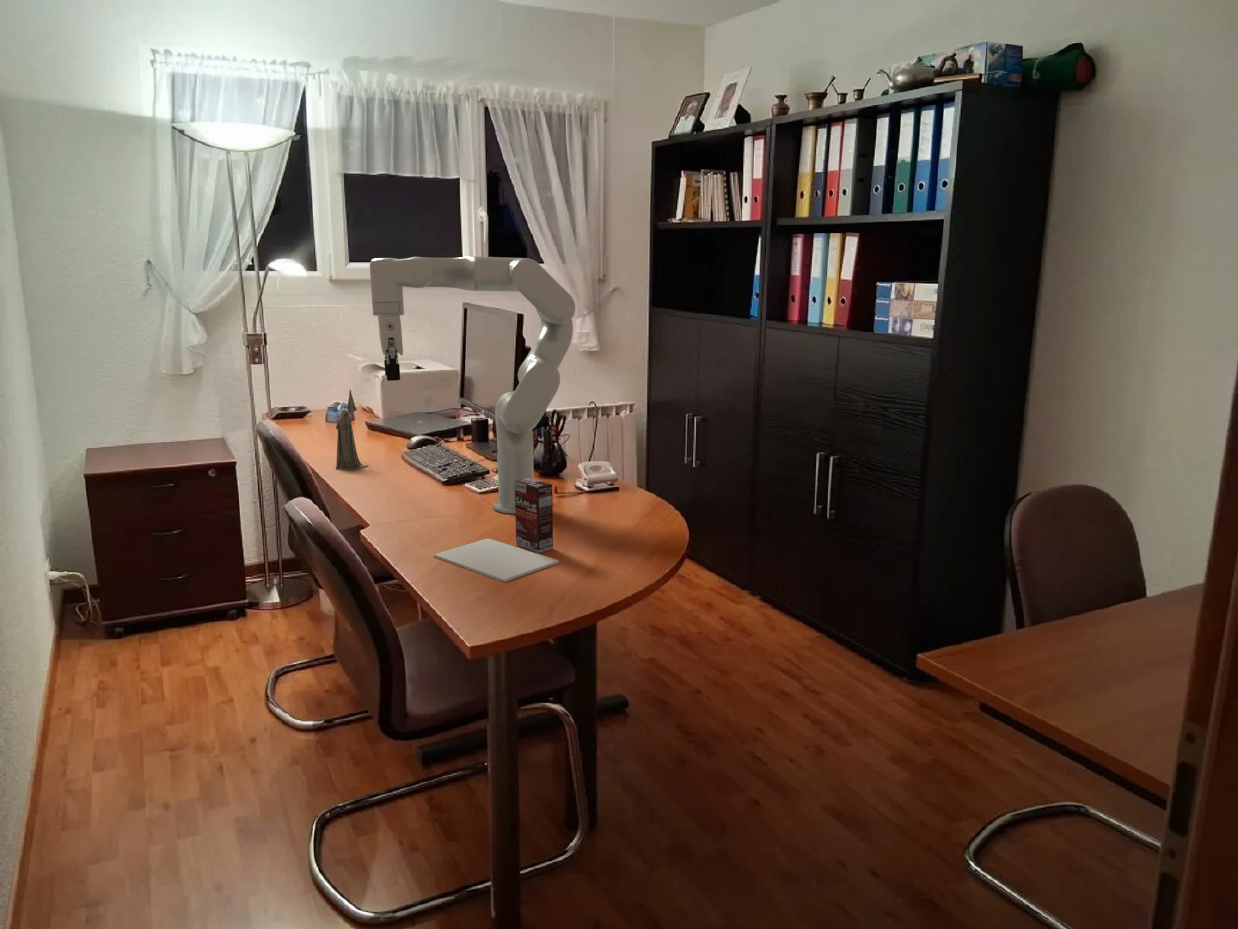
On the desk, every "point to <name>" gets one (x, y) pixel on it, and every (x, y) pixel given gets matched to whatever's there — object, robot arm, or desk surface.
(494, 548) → the mat
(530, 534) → the supplement box
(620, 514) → the desk surface
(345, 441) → the wizard figurine
